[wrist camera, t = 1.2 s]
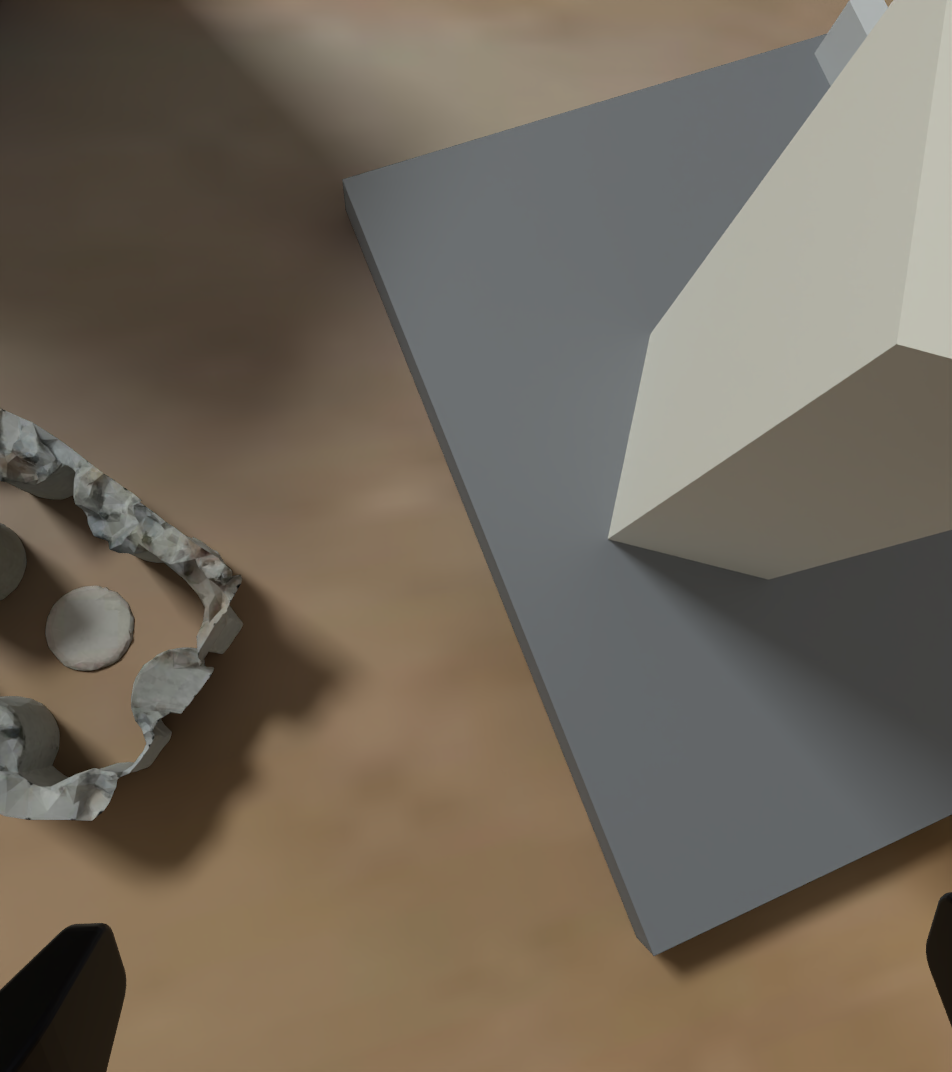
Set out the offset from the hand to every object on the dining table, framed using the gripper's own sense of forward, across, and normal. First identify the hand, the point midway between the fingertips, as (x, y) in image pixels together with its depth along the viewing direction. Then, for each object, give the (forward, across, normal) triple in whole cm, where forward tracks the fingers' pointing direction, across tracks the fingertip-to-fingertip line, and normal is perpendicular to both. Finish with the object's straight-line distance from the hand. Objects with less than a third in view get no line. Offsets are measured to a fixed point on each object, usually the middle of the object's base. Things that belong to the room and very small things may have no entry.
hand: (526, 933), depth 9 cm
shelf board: (+17, -7, +1) cm, 18 cm away
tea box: (+15, -6, 0) cm, 16 cm away
